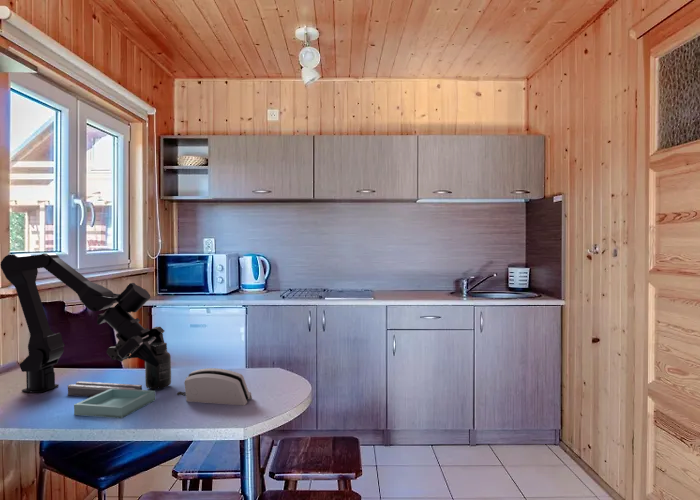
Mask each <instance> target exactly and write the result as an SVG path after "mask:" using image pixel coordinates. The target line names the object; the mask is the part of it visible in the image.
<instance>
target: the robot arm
mask: <svg viewBox="0 0 700 500" xmlns="http://www.w3.org/2000/svg"><path fill="white" fill-rule="evenodd" d="M42 268H43V269H45V270H46V271H48V273H50V274H51V275H53V276H54V278H57V279H58V280H59V281H60V282H62V284H63V285H66V286H67V287H68V288H70V290H72V291H73V292H74V293H76V294H77V296H78V298H79V300H80V302H81V303H82V304H83V305H84V306H85V308H86V309H88V310H89V311H92V312H99V311H102V310H103V311H104V310H105V311H104V312H103V313H99V314H97V320H96V324H97V325H101V324H103V323H104V324H105V323H107V324H108V325H109V326H110V327H111V328H112V329H113V330H114V331H115V332H116V334H115V337H116V338H117V341H118V342H117V343H116V344H114V346H110V347H108V348H107V350H106V352H105V353H106V354H107V355H108V357H109V358H110V359H111V361H115V360H117V361H119V362H121V363H122V362H123V361H125V360H127V359H139V360H142V361H144V362H145V361H146V362H148V363H150V364H152V365H153V366H155V367H157V366H158V365H159V362H158V360H157V358H156V356H155V354H154V352H153V350H152V349H151V347H150V345H149V344H152V343H159V342H164V343H165V339H164V332H165V329H164V328H162V327H161V326H155V327H153V328H151V329H150V328H148V327H147V328H144V327H143V326H142V324H140V323H139V322H140V321H141V320H140V319H139V318H138V317H135V318H134V316H132V314H131V313H137V312H138V311H140V309H141V308H142V307H143V306H144V305H145V304H146V303H147V302H148V301H149V300H150V299H151V295H150V293H149V291H147V289H144V287H141V286H139V285H138V284H136V283H135V282H130V283H129V284H127V286H126V288H125V289H123V291H122V292H121V293H115V292H113V291H112V290H111V289H109V288H107V287H106V286H103V285H100V284H98V283H95V282H92V281H90V279H87V278H86V277H85V276H84V275H83V274H81V273H80V272H78V271H77V270H76V269H75V268H73V267H72V266H71V265H70V264H68V263H67V262H65V260H63V259H62V258H60V256H59V255H58V254H56V253H55V252H54V253H53V252H49V253H48V252H47V253H46V252H45V253H41V254H34V255H32V254H28V253H14V254H13V253H12V254H11V253H10V254H7V255H5V256H4V257H3V258H2V260H1V261H0V269H1V271H2V273H3V275H4V277H5V279H6V280H7V281H9V283H11V285H12V286H14V288H15V290H16V294H17V297H18V299H19V304H20V306H21V309H22V313H23V317H24V320H25V323H26V326H27V328H28V329H27V330H28V331H29V332H28V333H29V340H28V344H27V349H28V350H27V351H28V355H27V356H26V358H24V360H23V361H22V362H20V363H19V368H20V370H21V372H23V373H25V374H26V375H25V376H26V387H25V388H23V389H21V392H22V393H37V394H39V393H43V392H46V391H49V390H52V389H54V388H55V389H56V388H57V387H59V385H60V384H58V383H56V376H55V375H56V373H55V366H54V365H57V364H58V362H59V360H60V358H61V357H62V356H63V353H64V350H65V348H64V347H65V346H66V344H65V343H64V341H63V338H62V337H63V336H62V333H61V332H57V333H55V332H54V331H53V330H51V327H50V325H49V322H48V318H47V314H46V312H45V309H44V305H43V302H42V299H41V296H40V292H39V289H38V286H37V283H36V282H37V278H38V273H39V271H38V269H42ZM114 304H115V305H114ZM113 305H114V306H113ZM106 309H107V310H106ZM166 352H168V349H167V350H166Z"/></svg>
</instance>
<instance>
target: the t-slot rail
mask: <svg viewBox="0 0 700 500" xmlns="http://www.w3.org/2000/svg"><path fill="white" fill-rule="evenodd" d="M109 389H125V390H133V389H135V390H143V385H142V384H129V383H114V382H113V383H111V382H98V381H95V382H94V381H76V382H75V384H73V383H70V384H69V385H67V395H68V396H77V397H78V396H79V397H88V398H90V397H93V396H95V395H97V394H100V393H102V392H104V391H106V390H109Z"/></svg>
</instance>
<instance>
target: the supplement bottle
mask: <svg viewBox="0 0 700 500" xmlns="http://www.w3.org/2000/svg"><path fill="white" fill-rule="evenodd" d="M149 345H150V347H151V349H152V350H153V352H154V354H155V356H156V358H157V360H158V362H159V365H158V366H157V367H155V366H153V365H152V364H150V363H148V362H146V361H144V368H145V369H144V373H145V376H144V378H145V381H144V382H145V387H146V388H147V389H153V390H157V389H162V388H163V389H164V388H167V387H169V386H170V385H171V383H172V359H171V358H172V355H171V354H170V352H168V347H167V346H168V344H167V342H165V341H164V342H159V343H152V344H149ZM166 350H167V352H166Z"/></svg>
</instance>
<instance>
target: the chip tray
mask: <svg viewBox="0 0 700 500" xmlns="http://www.w3.org/2000/svg"><path fill="white" fill-rule="evenodd" d="M154 401H156V390H147V389H142V390H135V389H133V390H125V389H109V390H106V391H104V392H102V393H100V394H97V395H95V396H93V397H88V398H86V399H83V400H81V401H79V402H77V403H74V404H73V416H85V417H96V418H97V417H99V418H108V419H109V418H110V419H124V418H126V417H127V416H129V415H130V414H133V413H134V412H136V411H139V410H140V409H141V408H143V407H145V406H147V405H149V404H151V403H152V402H154Z"/></svg>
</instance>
